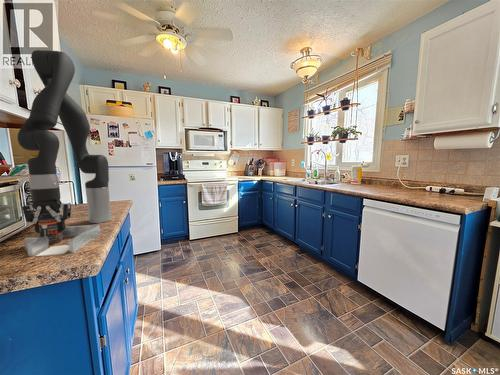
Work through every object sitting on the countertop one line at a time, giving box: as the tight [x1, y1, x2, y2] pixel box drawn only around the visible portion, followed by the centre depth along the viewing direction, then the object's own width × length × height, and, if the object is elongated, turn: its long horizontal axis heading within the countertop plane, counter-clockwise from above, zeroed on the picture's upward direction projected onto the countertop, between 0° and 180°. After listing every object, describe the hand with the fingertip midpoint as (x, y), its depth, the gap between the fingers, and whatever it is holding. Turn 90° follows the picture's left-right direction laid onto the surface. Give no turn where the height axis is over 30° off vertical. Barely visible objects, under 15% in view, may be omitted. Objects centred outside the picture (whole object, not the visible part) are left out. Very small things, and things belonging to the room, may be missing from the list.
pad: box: [35, 244, 69, 257], centre depth 70 cm, size 8×8×1 cm
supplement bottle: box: [38, 213, 64, 246], centre depth 76 cm, size 6×6×11 cm
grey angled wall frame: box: [23, 224, 101, 257], centre depth 75 cm, size 18×17×4 cm
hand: (50, 231), depth 76 cm, fingers closed on supplement bottle, 6 cm apart
